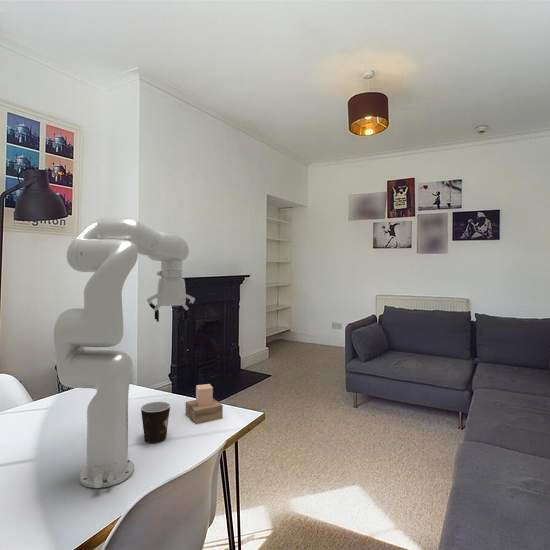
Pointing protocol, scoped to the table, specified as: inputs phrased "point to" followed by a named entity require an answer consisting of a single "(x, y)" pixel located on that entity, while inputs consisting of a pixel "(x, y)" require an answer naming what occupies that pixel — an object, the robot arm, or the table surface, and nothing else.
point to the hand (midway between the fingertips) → (171, 320)
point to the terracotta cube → (204, 395)
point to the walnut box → (204, 412)
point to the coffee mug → (155, 421)
